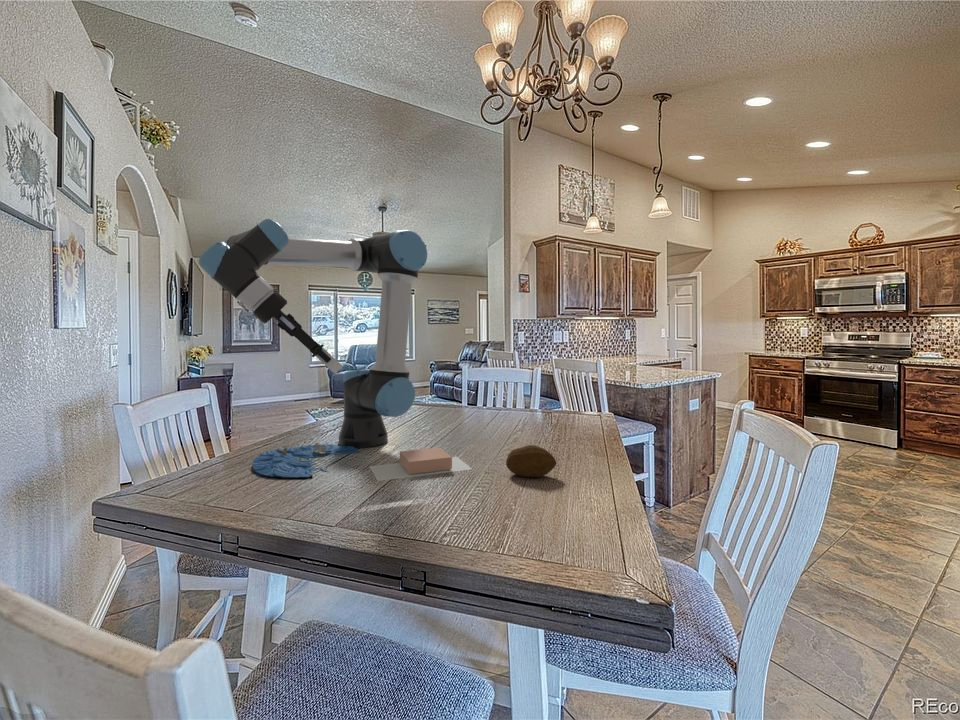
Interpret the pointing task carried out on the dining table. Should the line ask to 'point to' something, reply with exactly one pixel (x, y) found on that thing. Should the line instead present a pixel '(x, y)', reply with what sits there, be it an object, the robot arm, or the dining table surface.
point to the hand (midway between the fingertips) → (338, 369)
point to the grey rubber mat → (399, 472)
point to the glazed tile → (425, 460)
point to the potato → (530, 461)
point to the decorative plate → (296, 460)
